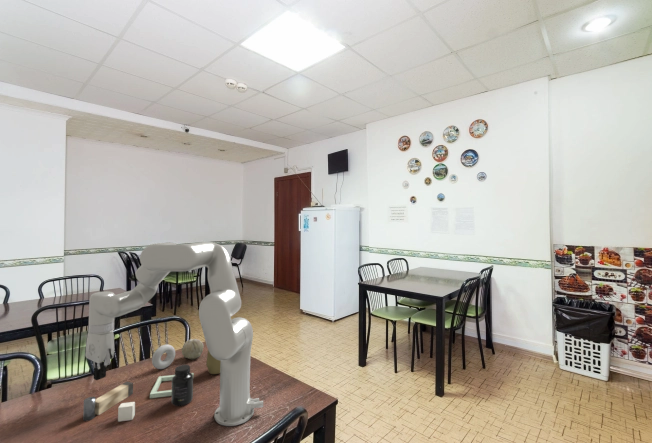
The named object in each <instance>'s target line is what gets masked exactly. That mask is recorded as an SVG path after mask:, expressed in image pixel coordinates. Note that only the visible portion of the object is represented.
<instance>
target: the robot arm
mask: <svg viewBox="0 0 652 443" xmlns="http://www.w3.org/2000/svg"><path fill="white" fill-rule="evenodd" d="M231 260H232V259H231V257H230V255H229V252H228V251H227V249H226V248H225V247H224V246H222V245H221V244H220V243H216V242H212V241H199V242H192V243H191V242H190V243H184V244H183V243H182V244H181V243H180V244H179V243H175V242H160V243H159V242H157V243H152V244H148V245H147V246H146V247H144V248H143V250H142V251H141V253H140V256H139V262H140V264H141V265H140V266H139V267H138V268H137V269H136V271H135V278H136V280H137V281H138V282H139V283H138V284H137V285H136V286H135V287H134V288H133V289H132V290H128V291H125V292H121V293H118V294H115V293H114V292H113V291H109V290H106V291H105V290H104V291H98V292H94V293H92V294H91V295H90V296H89V301H88V302H89V305H88V307H89V308H88V329H87V330H88V331H87V336H86V342H85V355H84V357H85V358H87V360H90V361H92V365H93V380H95V381H99V380H101V379H104V378H106V376H107V366H108V365H111V363H112V362H111V360H112V359H113V358H114V356H115V336H114V335H115V334H114V331H115V320H116V318H118V317H121V316H124V315H127V314H129V313H132V312H134V311H137V310H139V309H141V308H143V307H144V306H145V305H146V304H147V303H148V302H149V301H151V299H152V298H153V297H154V296H155V295H156V293H157V291H158V288H159V284H160V283H161V282H162V281H163V280H164V279H165V278H166V277H167V276H168V274H170V273H171V272H190V271H192V270H197V269H201V268H203V267H205V268H207V282H208V286H209V290H210V293H209V294H207V295H206V296H204V298H203V299H202V300H201V302H200V304H199V307H198V308H199V309H198V317H199V322H200V326H201V329H202V333H203V336H204V337H203V338H204V340H205V344H206V347H207V351H208V350H209V352H210V354H211V355H212V356H213V357H214V358H215V359H217V360H220V361H221V365H220V373H219V374H220V375H219V376H220V377H219V406H218V407H217V408H216V410H215V411H214V421H215V422H216V423H217V424H219V425H221V426H223V427H224V426H225V427H235V426H238V425H242V424H244V423H246V422H248V421H249V420H250V419H251V418H252V417H253V415H254V413H255V409H256V408H257V409H258V408H260V409H261V408H264V400H260V398H259V397H258V398H257V397H256V398H253V397H251V394H250V392H251V391H250V388H251V386H250V383H251V354H252V345H253V337H254V330H253V325H252V324H251V322H250V321H249V320H248V319H247V318H245V317H241V316H238V317H234V318H232V316H234V315H235V314H236V313H238V312H239V311H240V309H241V307H242V298H241V295H240V290H239V286H238V282H237V280H236V276H235V273H234V268H233V265H232V261H231Z"/></svg>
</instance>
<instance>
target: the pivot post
mask: <svg viewBox="0 0 652 443" xmlns="http://www.w3.org/2000/svg"><path fill="white" fill-rule="evenodd" d="M95 399H96V397H95V396H89V397H86V398H84V400H83V418H82V419H83V421H84V422H89V421H92V420H93V419H95V417H96V414H95Z"/></svg>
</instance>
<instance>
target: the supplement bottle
mask: <svg viewBox="0 0 652 443" xmlns="http://www.w3.org/2000/svg"><path fill="white" fill-rule="evenodd" d="M191 373H192V372H191V366H190V365H189V364H181V365H178V366H177V367H175V369H174V375H175V376H174V377H173V378H172V380H171V390H172V396H171V405H173V406H175V407H184V406H186V405H188V404H190V403H191V402H192V401H193V397H194V395H193V394H194V377H193V375H192V374H191Z"/></svg>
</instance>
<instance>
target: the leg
mask: <svg viewBox="0 0 652 443" xmlns="http://www.w3.org/2000/svg"><path fill="white" fill-rule="evenodd" d="M133 394H134V382H130V381H125V382H123V383H121V384H120V385H117V387H115V388H113V389H111V390H109V391H107V392H106V393H104V394H102V395H101V396H99V397H97V398H95V415H98V416H100V415H101V414H103V413H104V412H106V411H108V410H109V409H111V408H113V407H114V406H115V405H117V404H118V403H120V402H123V401H124V400H125V399H127V398H129V397H130V396H132V395H133Z"/></svg>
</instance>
